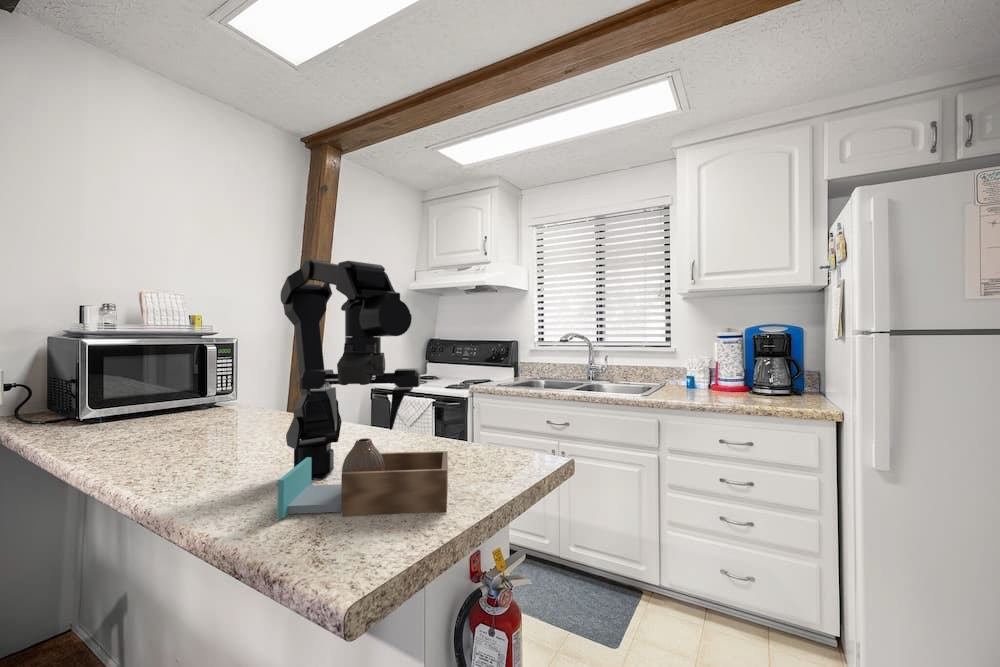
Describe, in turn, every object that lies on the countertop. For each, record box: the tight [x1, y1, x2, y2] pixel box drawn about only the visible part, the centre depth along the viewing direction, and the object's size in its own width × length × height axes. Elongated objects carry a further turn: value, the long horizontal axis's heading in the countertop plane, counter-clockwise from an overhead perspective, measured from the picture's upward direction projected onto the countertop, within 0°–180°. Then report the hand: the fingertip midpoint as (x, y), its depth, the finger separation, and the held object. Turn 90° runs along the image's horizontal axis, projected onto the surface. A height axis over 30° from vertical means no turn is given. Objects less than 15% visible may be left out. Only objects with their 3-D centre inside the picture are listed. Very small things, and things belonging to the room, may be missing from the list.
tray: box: [277, 457, 341, 520], centre depth 73 cm, size 16×13×6 cm
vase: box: [341, 437, 385, 474], centre depth 73 cm, size 7×7×9 cm
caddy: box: [340, 450, 449, 517], centre depth 74 cm, size 16×12×6 cm
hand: (363, 430), depth 73 cm, fingers open, 9 cm apart
